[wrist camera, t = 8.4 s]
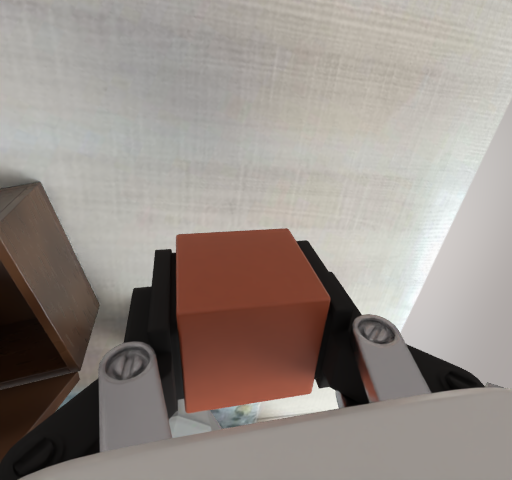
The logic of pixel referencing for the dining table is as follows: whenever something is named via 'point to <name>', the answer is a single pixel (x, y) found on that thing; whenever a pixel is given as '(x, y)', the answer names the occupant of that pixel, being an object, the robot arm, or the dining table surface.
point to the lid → (30, 406)
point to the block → (246, 317)
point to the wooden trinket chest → (39, 292)
